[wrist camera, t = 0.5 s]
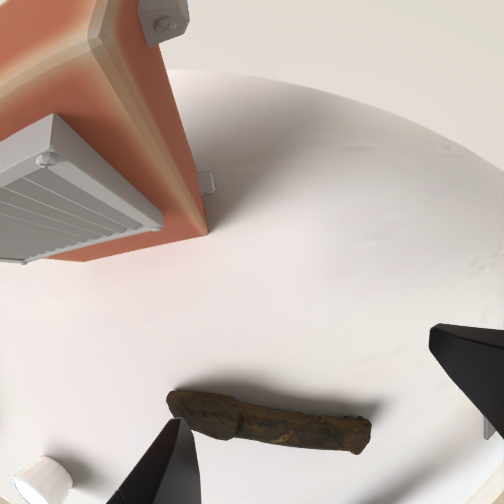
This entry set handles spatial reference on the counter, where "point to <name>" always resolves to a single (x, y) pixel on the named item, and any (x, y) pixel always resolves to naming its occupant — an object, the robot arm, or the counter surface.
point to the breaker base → (488, 429)
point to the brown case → (92, 131)
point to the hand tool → (267, 423)
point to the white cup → (43, 482)
